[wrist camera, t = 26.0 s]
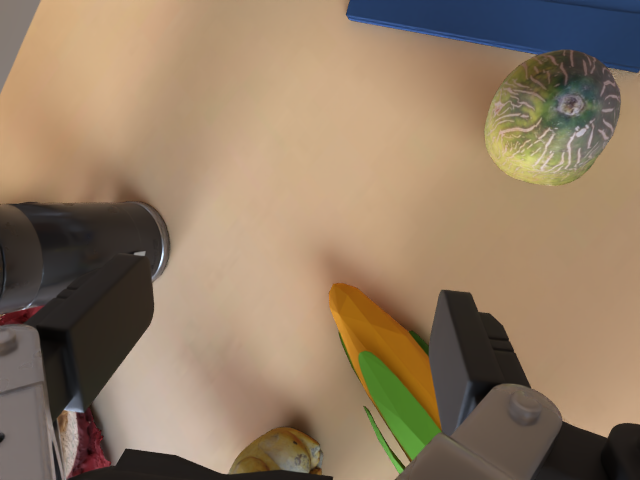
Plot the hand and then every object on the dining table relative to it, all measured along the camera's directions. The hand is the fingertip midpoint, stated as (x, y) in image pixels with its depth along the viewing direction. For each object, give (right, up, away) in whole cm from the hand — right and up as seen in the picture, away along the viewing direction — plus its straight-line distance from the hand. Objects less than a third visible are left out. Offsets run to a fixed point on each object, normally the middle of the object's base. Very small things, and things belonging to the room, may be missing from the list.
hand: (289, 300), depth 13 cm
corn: (+9, -10, +27) cm, 30 cm away
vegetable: (+17, +9, +21) cm, 29 cm away
